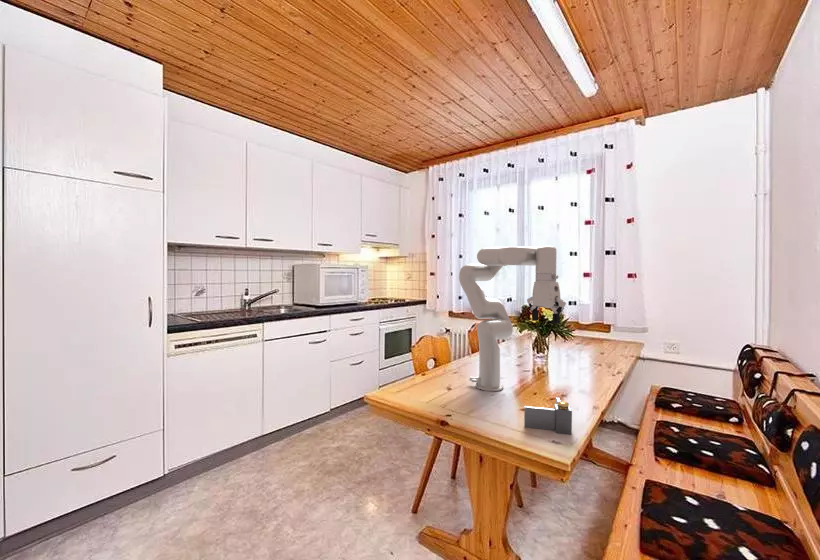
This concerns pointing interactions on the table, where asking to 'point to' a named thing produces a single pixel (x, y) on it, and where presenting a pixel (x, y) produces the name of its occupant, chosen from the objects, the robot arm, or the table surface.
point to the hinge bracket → (549, 418)
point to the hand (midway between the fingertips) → (545, 322)
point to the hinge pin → (563, 405)
